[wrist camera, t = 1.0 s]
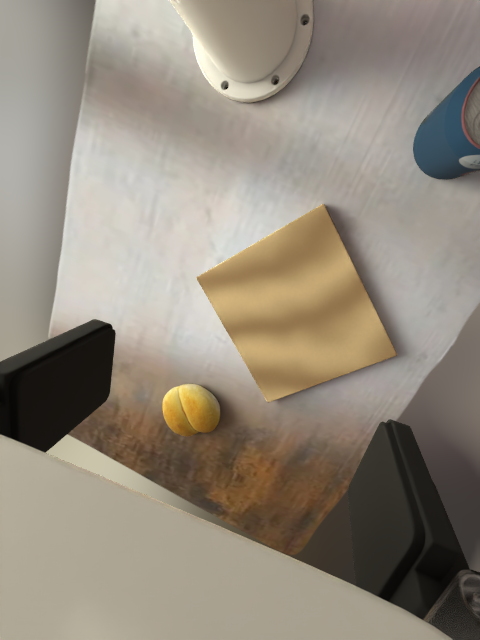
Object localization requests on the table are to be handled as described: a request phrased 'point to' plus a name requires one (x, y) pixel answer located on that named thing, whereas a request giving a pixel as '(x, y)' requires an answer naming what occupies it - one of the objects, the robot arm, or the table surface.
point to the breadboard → (297, 308)
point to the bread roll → (191, 410)
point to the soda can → (452, 133)
